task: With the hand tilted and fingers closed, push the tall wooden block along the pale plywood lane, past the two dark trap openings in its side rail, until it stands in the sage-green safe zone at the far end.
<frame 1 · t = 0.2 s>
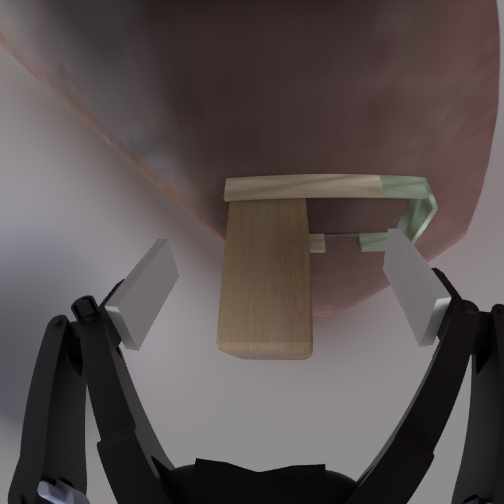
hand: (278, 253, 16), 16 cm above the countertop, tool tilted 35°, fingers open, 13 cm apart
wooden block: (271, 209, 39), on the countertop
trap lane: (327, 209, 38), on the countertop
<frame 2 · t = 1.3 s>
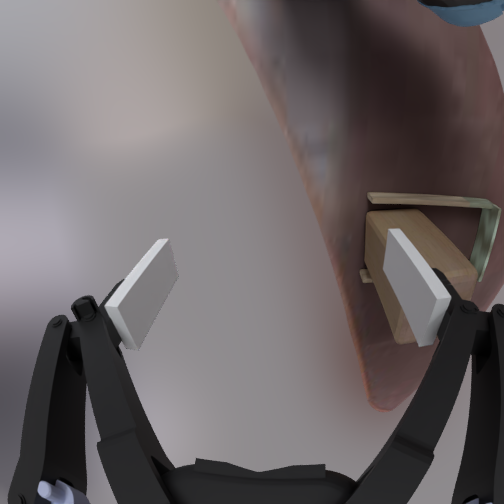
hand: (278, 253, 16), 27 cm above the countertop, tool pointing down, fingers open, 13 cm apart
wooden block: (390, 234, 43), on the countertop
trap lane: (429, 234, 41), on the countertop
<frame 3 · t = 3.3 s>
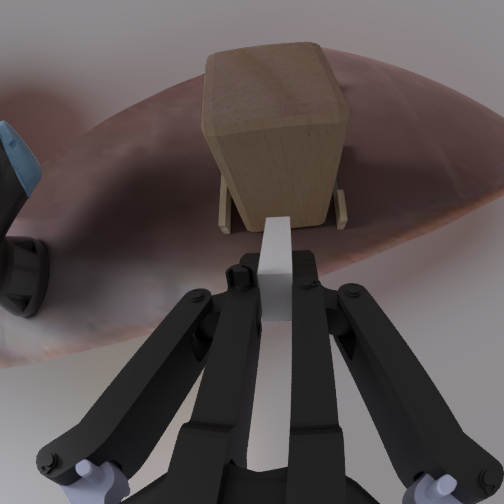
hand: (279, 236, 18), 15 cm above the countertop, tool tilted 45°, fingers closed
wooden block: (282, 196, 36), on the countertop
trap lane: (279, 147, 38), on the countertop
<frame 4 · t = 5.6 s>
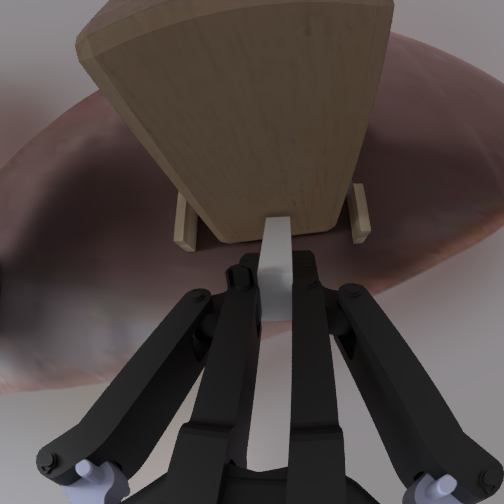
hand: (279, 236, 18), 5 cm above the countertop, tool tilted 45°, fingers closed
wooden block: (271, 189, 25), on the countertop, touching gripper
trap lane: (268, 127, 26), on the countertop
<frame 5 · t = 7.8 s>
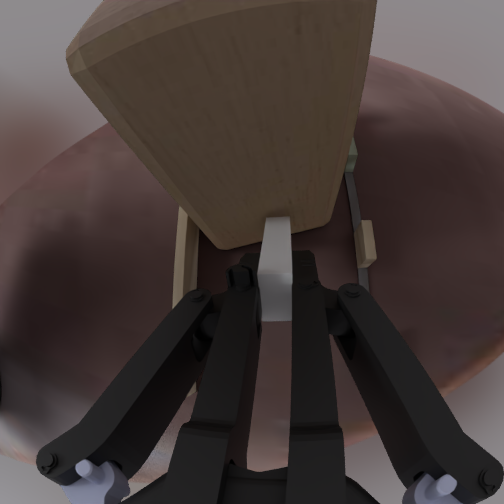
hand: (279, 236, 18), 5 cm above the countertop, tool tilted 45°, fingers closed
wooden block: (262, 191, 25), on the countertop, touching gripper
trap lane: (275, 237, 23), on the countertop
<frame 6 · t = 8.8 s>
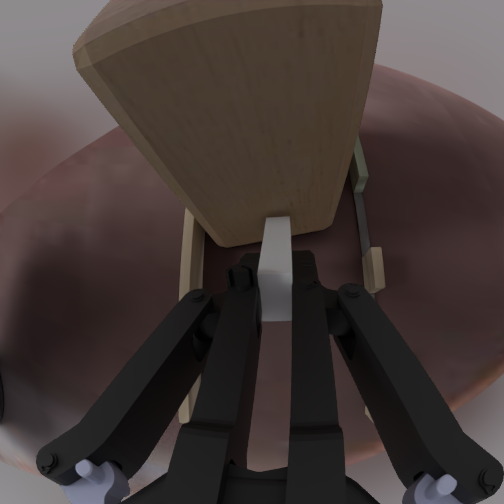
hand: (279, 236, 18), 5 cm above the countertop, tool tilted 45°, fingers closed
wooden block: (266, 191, 25), on the countertop, touching gripper
trap lane: (282, 261, 23), on the countertop
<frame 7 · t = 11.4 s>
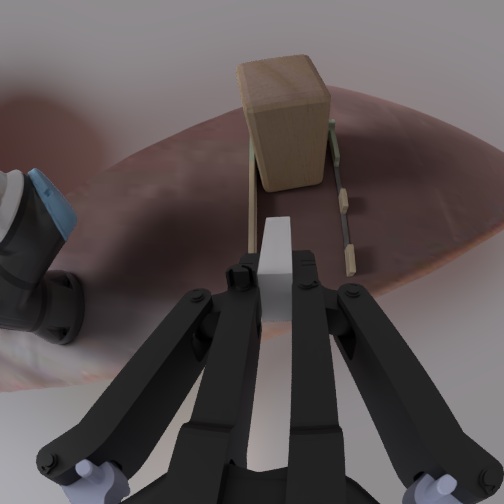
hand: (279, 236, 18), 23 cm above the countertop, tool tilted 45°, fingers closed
wooden block: (288, 166, 46), on the countertop
trap lane: (297, 199, 44), on the countertop
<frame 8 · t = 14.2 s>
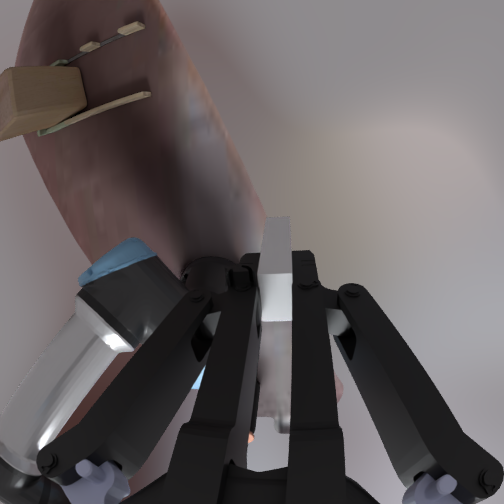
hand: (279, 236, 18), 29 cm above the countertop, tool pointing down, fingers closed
wooden block: (69, 96, 40), on the countertop
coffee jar: (242, 382, 74), on the countertop
trap lane: (90, 80, 38), on the countertop
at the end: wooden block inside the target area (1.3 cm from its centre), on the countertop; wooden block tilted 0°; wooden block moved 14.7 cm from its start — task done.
